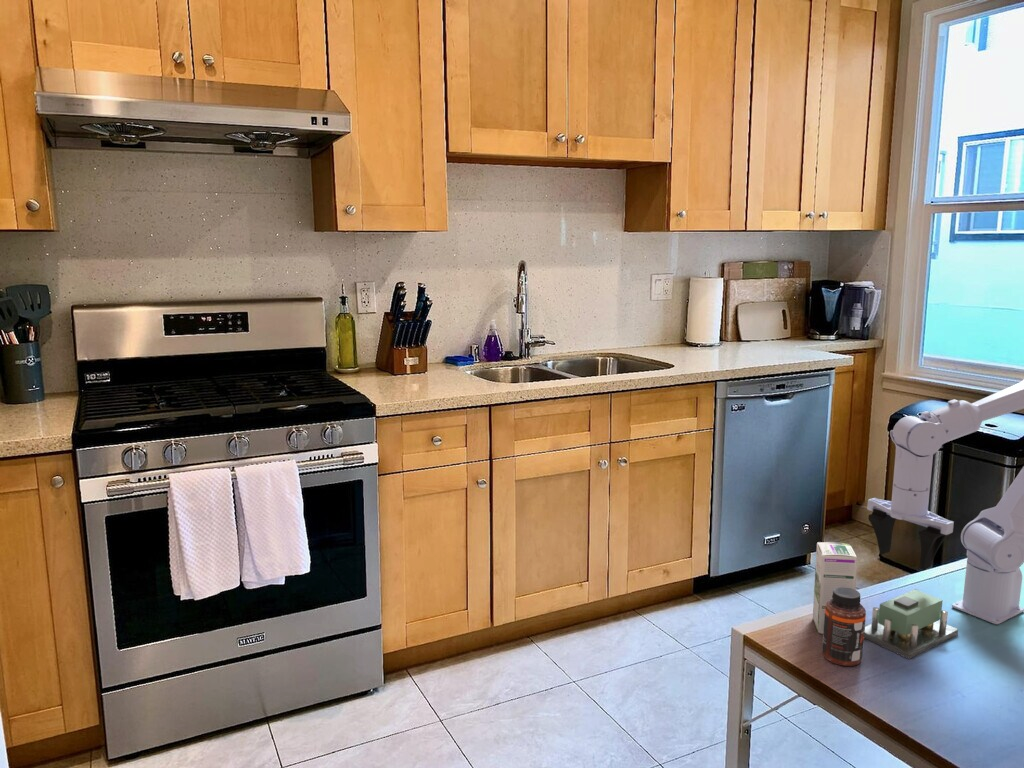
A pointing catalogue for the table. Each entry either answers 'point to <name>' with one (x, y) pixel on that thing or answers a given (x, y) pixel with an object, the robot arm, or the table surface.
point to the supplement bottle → (844, 627)
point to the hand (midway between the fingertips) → (904, 559)
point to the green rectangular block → (910, 611)
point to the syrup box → (831, 575)
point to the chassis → (909, 635)
